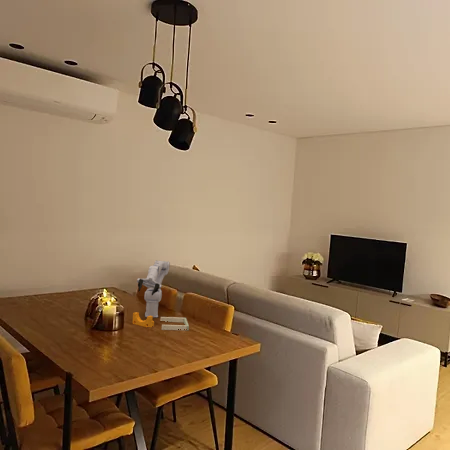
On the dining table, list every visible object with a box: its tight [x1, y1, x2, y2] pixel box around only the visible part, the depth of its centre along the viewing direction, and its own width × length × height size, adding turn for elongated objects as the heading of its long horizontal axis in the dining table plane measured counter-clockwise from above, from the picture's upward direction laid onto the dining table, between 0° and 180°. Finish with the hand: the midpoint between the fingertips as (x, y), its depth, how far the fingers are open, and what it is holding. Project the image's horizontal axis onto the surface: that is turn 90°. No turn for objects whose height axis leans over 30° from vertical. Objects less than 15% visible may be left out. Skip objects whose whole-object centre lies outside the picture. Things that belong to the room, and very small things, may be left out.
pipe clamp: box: [132, 312, 155, 328], centre depth 247 cm, size 12×4×6 cm, turn 63°
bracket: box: [159, 316, 190, 331], centre depth 251 cm, size 17×15×2 cm
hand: (145, 292), depth 245 cm, fingers open, 7 cm apart
